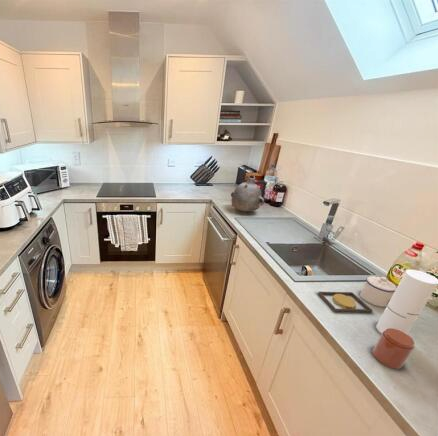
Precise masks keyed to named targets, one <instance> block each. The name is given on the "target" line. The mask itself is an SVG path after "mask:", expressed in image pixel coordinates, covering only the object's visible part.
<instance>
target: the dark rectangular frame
mask: <svg viewBox="0 0 438 436" xmlns="http://www.w3.org/2000/svg"><path fill="white" fill-rule="evenodd" d="M335 294H343V295H346V296H351V298H352V299H353V300H354V301H355V302H357V303H358V304H360V305H361V306H362V307H363V308H354V309H345V308H336V307H335V306H334V305H333V304H332V303H331V302H330V300H329V299H327V298H326V297H325V296H334V295H335ZM317 295H318V296H319V297H320V298H321V299H322V300H323V302H325V304H326V305H327V306H328V307H329V308H330V309H331V310H332V311H333V313H365V314H366V313H367V314H372V313H373V309H372V308H371V307H370V306H369V305H367V304H366V303H365V302H364V301H363V300H361V298H360V297H358V295H356V294H355V293H354V292H351V291H349V292H348V291H318V292H317Z"/></svg>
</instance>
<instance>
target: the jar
mask: <svg viewBox="0 0 438 436" xmlns="http://www.w3.org/2000/svg"><path fill="white" fill-rule="evenodd" d="M414 349H415V341H414V339H413V338H412V337H411V336H410V335H409V334H408V333H407V334H405V333H404V332H402V331H399V330H397V329H392V328H389V329H386V330H385V331H384V332H383V333H381V335H380V337H378V339H377V342H376V344H375V345H374V347H373V349H372V355H373V356H374V358H375V359H376V360H377V361H378V362H380V363H381V364H382V365H384V366H386V367H389V368H391V369H395V370H399V369H402V367H403V366H404V364H406V363H405V362H406V361H407V360H408V358H409V357H410V355H411V353H412V352H413V350H414Z"/></svg>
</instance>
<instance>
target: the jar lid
mask: <svg viewBox="0 0 438 436" xmlns="http://www.w3.org/2000/svg"><path fill="white" fill-rule="evenodd" d="M332 302H333V303H334V304H335V305H336V306H338V307H340V308H341V309H356V308H357V301H356V300H355V299H354V298H353V297H350V296H349V295H343V294H335V295H332Z"/></svg>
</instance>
